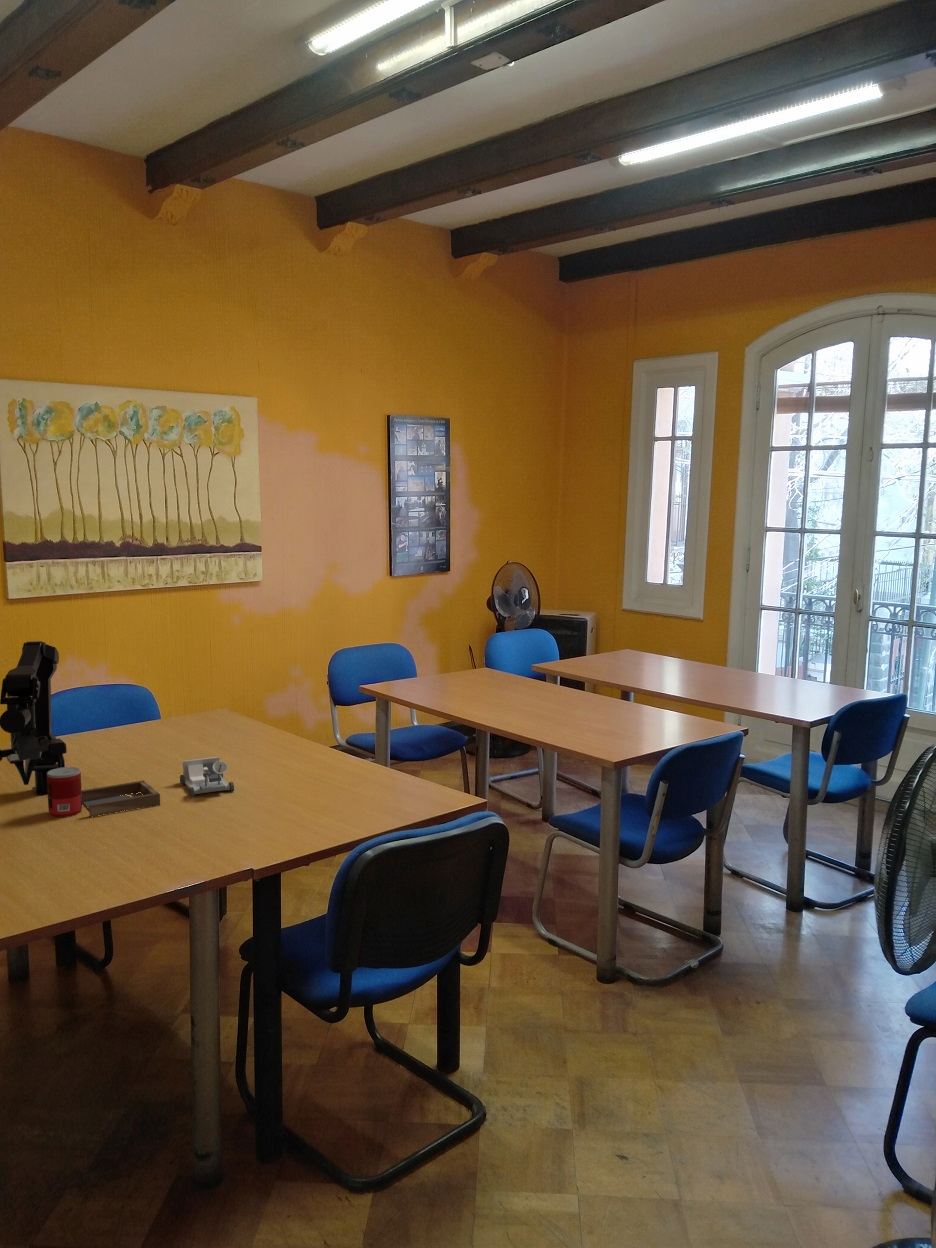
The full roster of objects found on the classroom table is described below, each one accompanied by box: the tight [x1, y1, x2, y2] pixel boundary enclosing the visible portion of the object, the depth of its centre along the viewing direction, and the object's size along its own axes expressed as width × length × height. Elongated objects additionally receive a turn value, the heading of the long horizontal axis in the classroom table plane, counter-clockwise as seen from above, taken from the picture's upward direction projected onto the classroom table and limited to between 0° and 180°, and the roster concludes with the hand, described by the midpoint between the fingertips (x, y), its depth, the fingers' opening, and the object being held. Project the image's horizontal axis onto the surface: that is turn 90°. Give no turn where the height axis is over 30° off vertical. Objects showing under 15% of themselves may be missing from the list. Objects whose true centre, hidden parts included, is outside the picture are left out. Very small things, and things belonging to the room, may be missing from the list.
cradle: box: [81, 779, 161, 818], centre depth 250 cm, size 14×17×3 cm
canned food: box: [47, 766, 83, 818], centre depth 241 cm, size 8×8×11 cm
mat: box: [82, 793, 141, 811], centre depth 249 cm, size 11×14×1 cm
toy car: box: [179, 756, 235, 798], centre depth 263 cm, size 18×10×12 cm
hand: (26, 784), depth 236 cm, fingers closed
